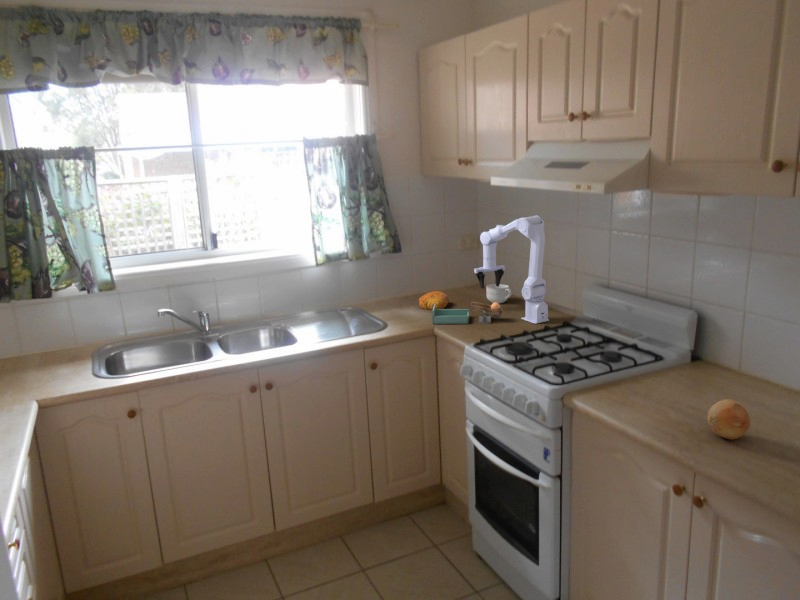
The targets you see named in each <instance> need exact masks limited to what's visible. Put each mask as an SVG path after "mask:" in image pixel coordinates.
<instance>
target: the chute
mask: <svg viewBox="0 0 800 600" xmlns="http://www.w3.org/2000/svg"><path fill="white" fill-rule="evenodd" d="M470 304H471V306H470V311H473V312H479V313H483V311H486V312H487V315H488V314H489V315H493V318H494V319H498V320H500V319H501V316H502V314H503V313H502V312H503V306H501V305H500V310H495V309H491V305H492V304H485V303H481V302H477V301H471V303H470Z"/></svg>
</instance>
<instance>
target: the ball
mask: <svg viewBox="0 0 800 600" xmlns="http://www.w3.org/2000/svg"><path fill="white" fill-rule="evenodd" d="M490 305H491V309H495V310H500V306H501V303H497V302H494V303H492V304H490Z"/></svg>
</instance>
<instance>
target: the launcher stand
mask: <svg viewBox="0 0 800 600" xmlns="http://www.w3.org/2000/svg"><path fill="white" fill-rule="evenodd" d="M478 323H479V324H491V323H492V316H491V315H488V313H487V312H486V311H483V312H482V315H479V316H478Z"/></svg>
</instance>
